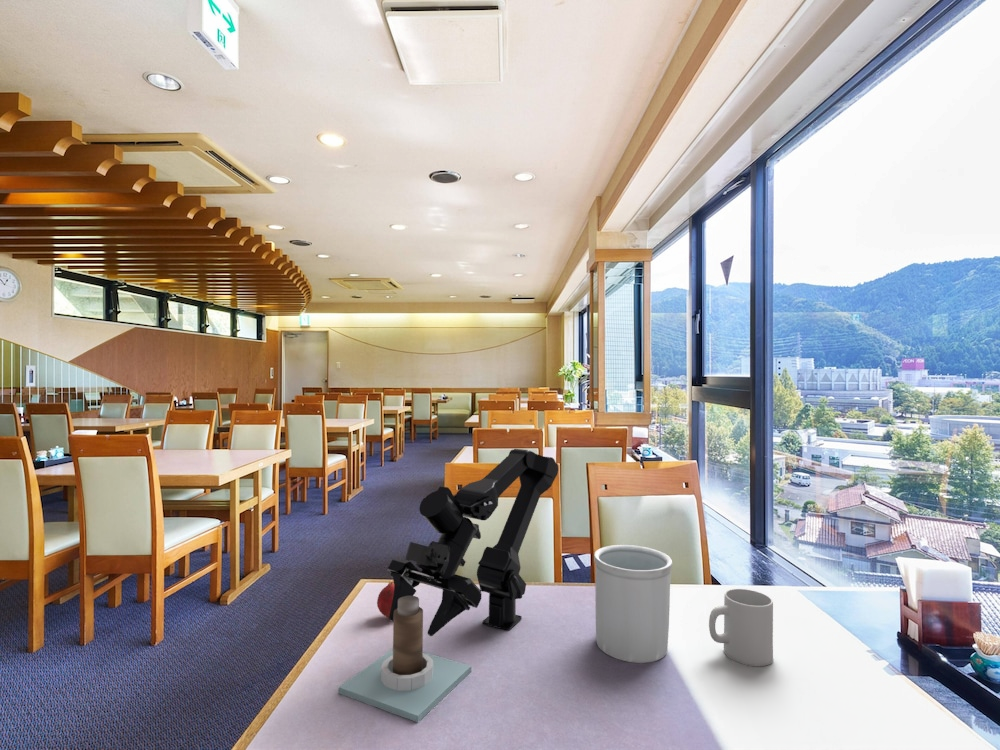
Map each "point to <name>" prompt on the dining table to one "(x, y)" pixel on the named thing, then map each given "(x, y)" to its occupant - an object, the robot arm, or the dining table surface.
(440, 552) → the robot arm
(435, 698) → the board
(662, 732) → the dining table surface
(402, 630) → the pepper mill
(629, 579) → the utensil holder
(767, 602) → the mug
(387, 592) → the onion
